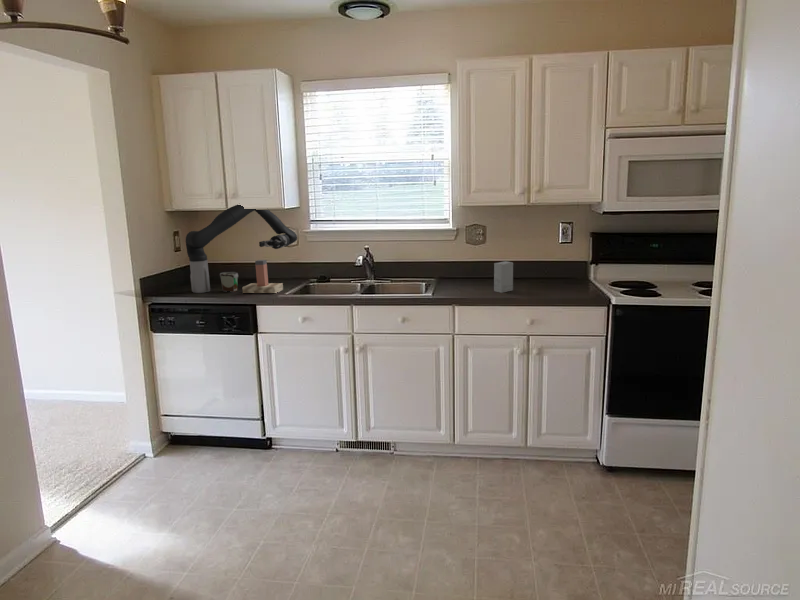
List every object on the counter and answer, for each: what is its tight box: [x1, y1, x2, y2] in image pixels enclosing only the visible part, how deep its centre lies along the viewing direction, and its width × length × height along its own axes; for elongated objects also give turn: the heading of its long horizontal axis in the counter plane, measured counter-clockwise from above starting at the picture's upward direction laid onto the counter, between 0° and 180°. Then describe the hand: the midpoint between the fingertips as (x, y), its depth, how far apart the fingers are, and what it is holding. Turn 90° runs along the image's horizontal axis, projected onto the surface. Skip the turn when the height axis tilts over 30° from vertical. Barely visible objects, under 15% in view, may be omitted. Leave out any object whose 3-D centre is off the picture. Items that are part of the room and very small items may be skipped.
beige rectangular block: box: [242, 282, 284, 294], centre depth 304 cm, size 18×12×4 cm, turn 81°
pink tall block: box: [254, 259, 269, 286], centre depth 302 cm, size 4×4×17 cm
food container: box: [219, 271, 239, 293], centre depth 309 cm, size 12×6×10 cm, turn 56°
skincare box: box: [493, 260, 514, 294], centre depth 285 cm, size 8×6×15 cm
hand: (267, 245), depth 310 cm, fingers open, 8 cm apart
